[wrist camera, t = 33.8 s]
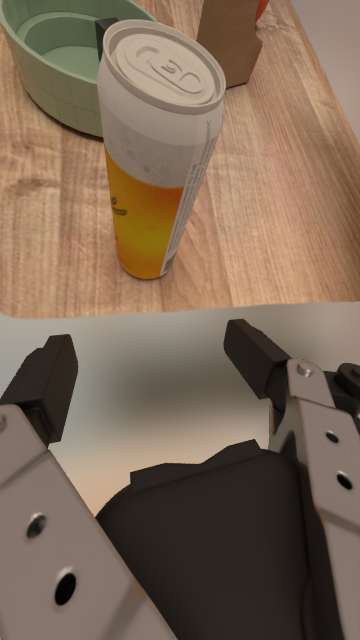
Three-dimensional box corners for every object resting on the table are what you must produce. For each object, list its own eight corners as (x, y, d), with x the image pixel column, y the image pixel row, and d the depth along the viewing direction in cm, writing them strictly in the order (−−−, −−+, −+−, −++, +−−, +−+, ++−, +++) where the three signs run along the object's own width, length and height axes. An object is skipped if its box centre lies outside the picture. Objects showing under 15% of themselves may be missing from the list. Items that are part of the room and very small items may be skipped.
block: (115, 77, 28) (113, 38, 25) (98, 60, 28) (94, 19, 25) (133, 72, 30) (133, 34, 26) (117, 56, 30) (115, 16, 26)
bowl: (70, 158, 24) (53, 97, 18) (-6, 47, 25) (-41, -36, 20) (193, 130, 30) (206, 79, 25) (126, 43, 32) (125, -21, 27)
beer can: (135, 226, 23) (141, -3, 9) (180, 252, 24) (251, 73, 10) (106, 264, 21) (56, 42, 7) (156, 292, 22) (202, 137, 8)
